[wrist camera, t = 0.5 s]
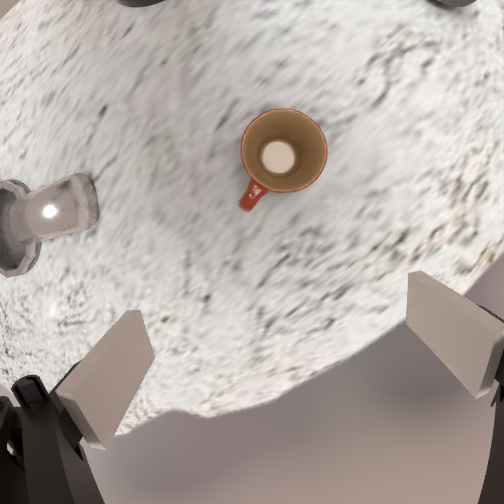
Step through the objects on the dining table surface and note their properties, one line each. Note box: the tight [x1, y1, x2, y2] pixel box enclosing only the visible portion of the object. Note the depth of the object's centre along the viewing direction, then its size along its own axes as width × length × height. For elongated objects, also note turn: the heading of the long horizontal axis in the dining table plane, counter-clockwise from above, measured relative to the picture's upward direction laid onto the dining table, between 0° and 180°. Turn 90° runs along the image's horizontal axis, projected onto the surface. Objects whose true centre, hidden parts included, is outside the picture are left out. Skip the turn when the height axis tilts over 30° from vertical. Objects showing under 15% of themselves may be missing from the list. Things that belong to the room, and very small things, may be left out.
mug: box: [238, 109, 327, 212], centre depth 33 cm, size 12×9×10 cm
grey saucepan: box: [0, 173, 98, 278], centre depth 36 cm, size 31×18×8 cm, turn 99°
